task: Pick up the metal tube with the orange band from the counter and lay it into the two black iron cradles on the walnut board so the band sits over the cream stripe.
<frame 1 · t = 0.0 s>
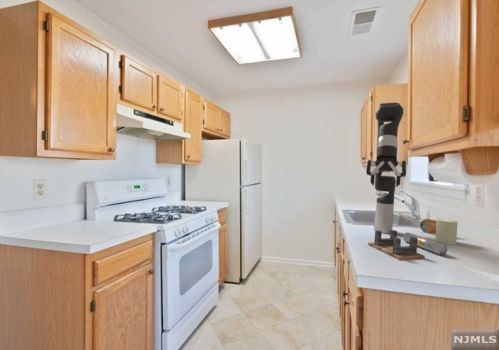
hand: (384, 185, 106), 31 cm above the counter, tool tilted 20°, fingers open, 8 cm apart
tube: (423, 248, 128), on the counter
tin: (434, 234, 156), on the counter
cradle stand: (394, 251, 122), on the counter
can: (445, 242, 140), on the counter
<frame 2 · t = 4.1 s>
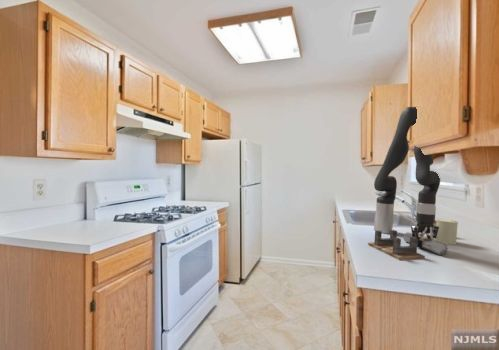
hand: (423, 247, 128), 1 cm above the counter, tool pointing down, fingers closed on tube, 5 cm apart
tube: (423, 248, 128), on the counter, touching gripper
everything else where it was.
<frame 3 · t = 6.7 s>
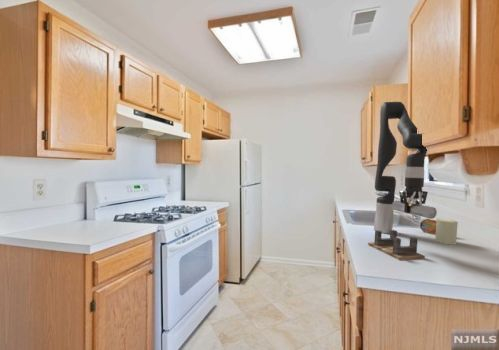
hand: (412, 212, 124), 18 cm above the counter, tool pointing down, fingers closed on tube, 5 cm apart
tube: (412, 214, 124), point 17 cm above the counter, touching gripper
everything else where it was.
when the fingers open (6 cm above the counter, at t = 9.4 s): tube drops 1 cm, resting on cradle stand.
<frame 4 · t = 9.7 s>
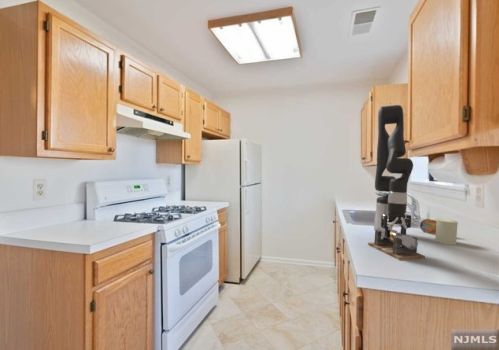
hand: (395, 237, 122), 7 cm above the counter, tool pointing down, fingers open, 7 cm apart
tube: (394, 242, 122), point 4 cm above the counter, touching cradle stand
everything else where it was.
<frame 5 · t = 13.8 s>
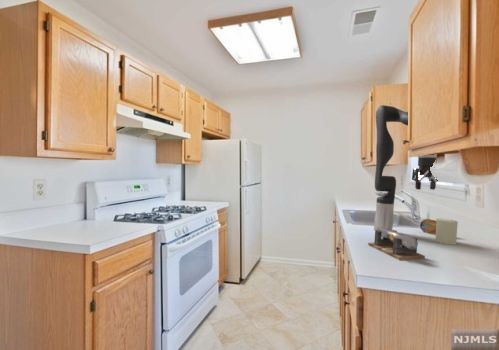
hand: (425, 189, 132), 28 cm above the counter, tool pointing down, fingers open, 8 cm apart
nothing on the counter moved.
at the end: tube 0.1 cm off-centre on the cradle stand, point 4.0 cm above the cradle stand's base; tube tilted 3°; the gripper is holding nothing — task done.
